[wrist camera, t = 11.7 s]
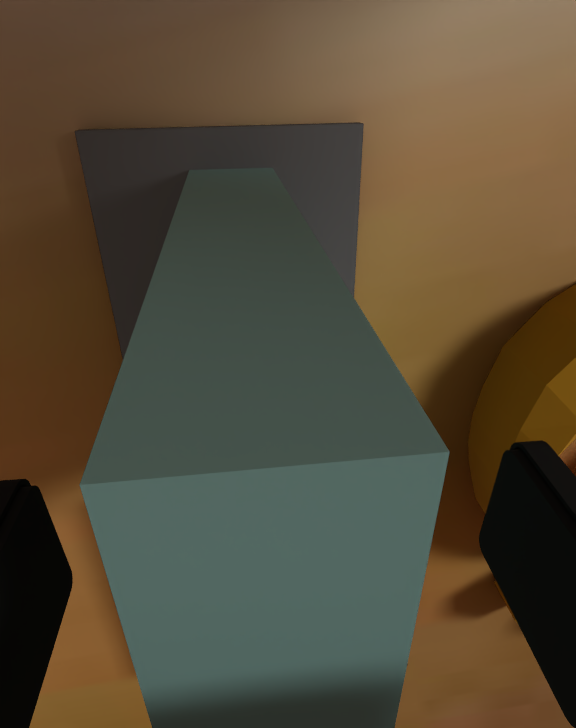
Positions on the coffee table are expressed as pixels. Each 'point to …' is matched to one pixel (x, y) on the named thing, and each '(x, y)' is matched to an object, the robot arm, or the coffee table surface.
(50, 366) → the coffee table surface
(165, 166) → the mat
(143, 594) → the teal rectangular block
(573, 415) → the decorative symbol
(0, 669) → the robot arm
